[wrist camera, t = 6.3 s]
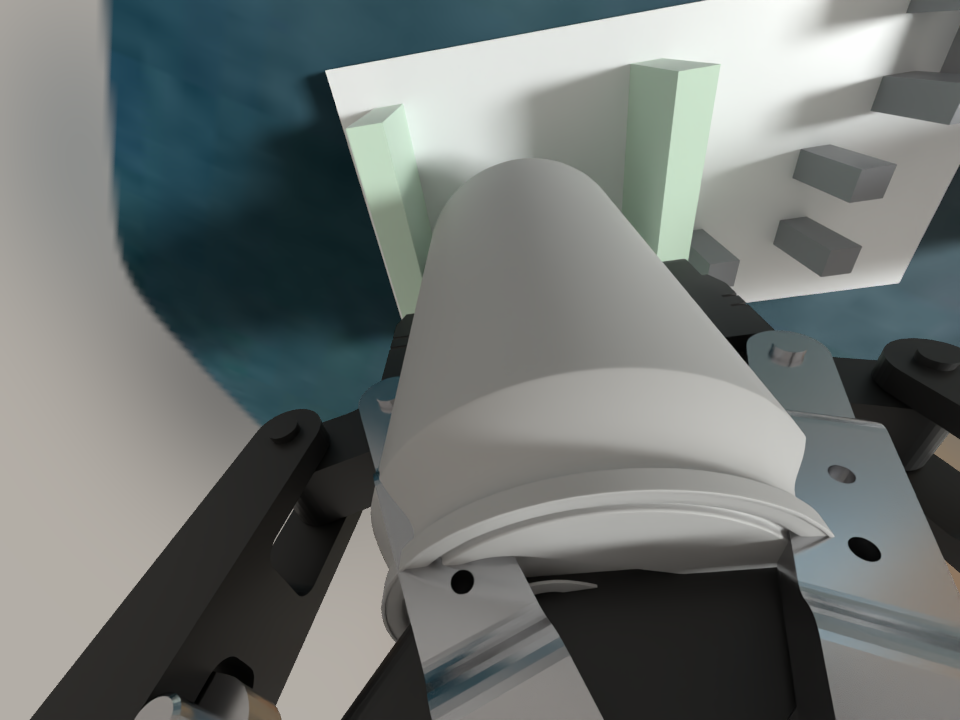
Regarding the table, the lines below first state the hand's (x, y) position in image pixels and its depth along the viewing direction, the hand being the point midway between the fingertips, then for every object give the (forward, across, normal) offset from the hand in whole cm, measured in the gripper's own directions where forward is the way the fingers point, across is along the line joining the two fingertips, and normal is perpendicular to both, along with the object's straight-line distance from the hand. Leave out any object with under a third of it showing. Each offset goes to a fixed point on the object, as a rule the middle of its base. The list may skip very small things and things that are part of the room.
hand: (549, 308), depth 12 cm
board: (+8, -5, 0) cm, 9 cm away
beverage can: (+4, 0, 0) cm, 4 cm away
